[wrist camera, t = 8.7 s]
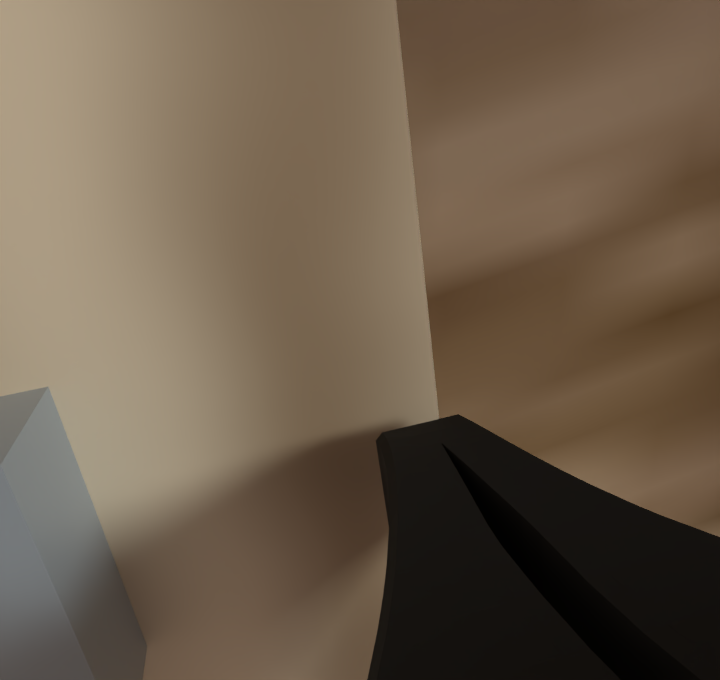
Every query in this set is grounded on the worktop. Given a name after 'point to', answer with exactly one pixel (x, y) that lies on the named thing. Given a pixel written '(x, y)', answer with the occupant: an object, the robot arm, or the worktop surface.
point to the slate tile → (56, 559)
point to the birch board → (220, 307)
